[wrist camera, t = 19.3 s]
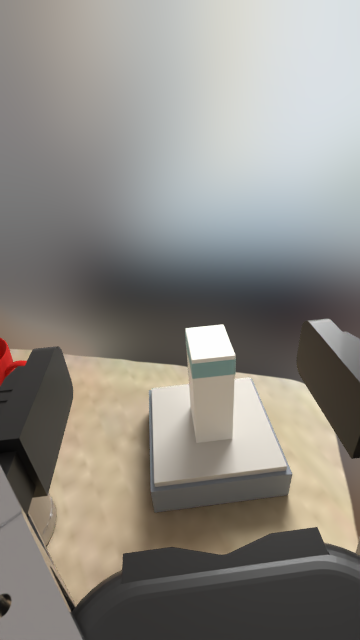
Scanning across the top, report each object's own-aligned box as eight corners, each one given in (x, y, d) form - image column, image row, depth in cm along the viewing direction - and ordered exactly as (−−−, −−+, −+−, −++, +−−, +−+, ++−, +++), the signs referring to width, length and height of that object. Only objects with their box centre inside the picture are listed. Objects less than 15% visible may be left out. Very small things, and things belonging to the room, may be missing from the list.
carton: (196, 443, 39) (191, 360, 33) (190, 406, 45) (185, 328, 38) (232, 438, 40) (235, 355, 33) (222, 402, 45) (223, 324, 38)
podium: (154, 512, 38) (149, 487, 35) (151, 409, 51) (148, 386, 49) (288, 495, 38) (293, 469, 36) (250, 398, 52) (252, 374, 49)
